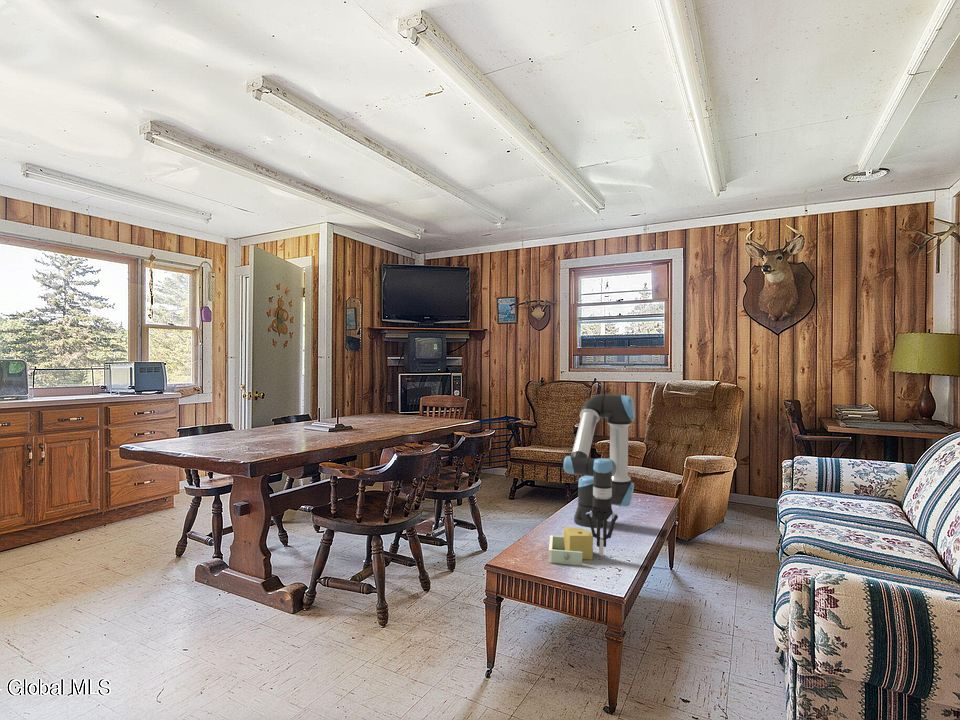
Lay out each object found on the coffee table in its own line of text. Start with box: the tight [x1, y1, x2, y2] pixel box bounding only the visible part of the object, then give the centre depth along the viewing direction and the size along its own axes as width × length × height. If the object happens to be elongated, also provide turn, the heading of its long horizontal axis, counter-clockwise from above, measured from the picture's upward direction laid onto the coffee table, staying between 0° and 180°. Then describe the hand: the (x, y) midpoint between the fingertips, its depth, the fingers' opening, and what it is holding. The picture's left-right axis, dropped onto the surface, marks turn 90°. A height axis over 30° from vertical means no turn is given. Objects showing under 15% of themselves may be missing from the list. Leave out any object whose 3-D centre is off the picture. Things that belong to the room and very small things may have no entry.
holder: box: [548, 534, 583, 566], centre depth 212 cm, size 19×13×5 cm
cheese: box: [563, 526, 594, 560], centre depth 213 cm, size 10×11×10 cm
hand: (601, 554), depth 210 cm, fingers closed
